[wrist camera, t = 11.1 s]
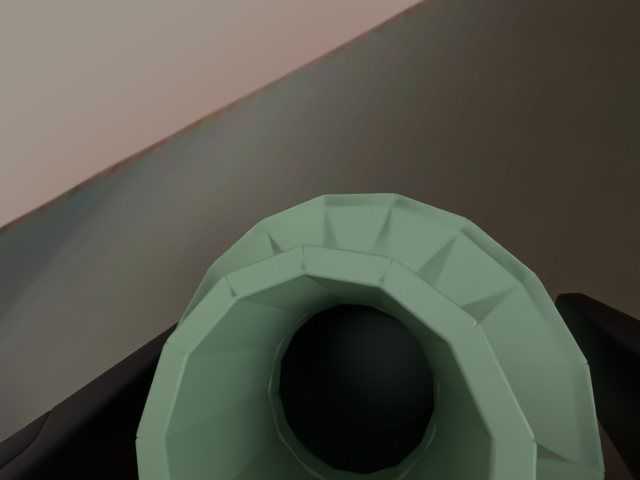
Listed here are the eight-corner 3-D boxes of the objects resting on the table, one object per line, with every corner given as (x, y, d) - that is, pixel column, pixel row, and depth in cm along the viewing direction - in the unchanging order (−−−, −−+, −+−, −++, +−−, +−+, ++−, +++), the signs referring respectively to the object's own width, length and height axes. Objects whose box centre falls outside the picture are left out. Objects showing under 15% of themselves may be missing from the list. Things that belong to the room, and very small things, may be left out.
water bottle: (481, 405, 13) (1538, 1263, 1) (332, 451, 13) (-64, 1270, 2) (416, 259, 15) (507, -1, 3) (291, 305, 16) (-5, 228, 4)
